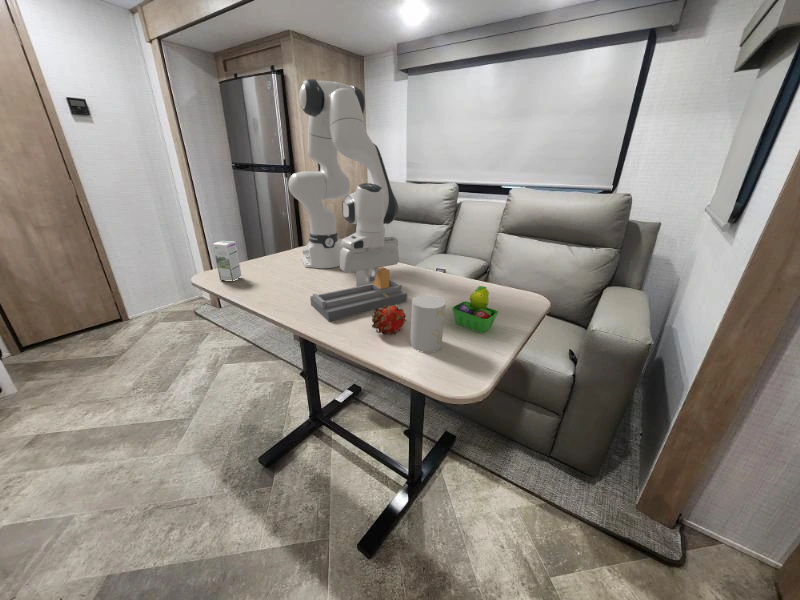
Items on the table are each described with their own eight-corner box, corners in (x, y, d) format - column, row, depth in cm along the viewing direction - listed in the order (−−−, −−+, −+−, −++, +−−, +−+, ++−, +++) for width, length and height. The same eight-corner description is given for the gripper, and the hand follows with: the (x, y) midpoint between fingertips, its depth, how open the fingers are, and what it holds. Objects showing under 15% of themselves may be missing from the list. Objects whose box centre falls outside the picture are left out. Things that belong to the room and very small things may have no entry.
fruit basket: (449, 323, 95) (452, 287, 91) (464, 314, 101) (468, 280, 97) (484, 336, 88) (490, 298, 84) (498, 326, 95) (504, 289, 90)
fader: (372, 288, 111) (372, 267, 108) (382, 286, 113) (382, 266, 110) (380, 292, 107) (380, 271, 104) (390, 290, 109) (390, 269, 106)
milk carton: (356, 287, 121) (354, 236, 113) (357, 280, 127) (356, 232, 120) (375, 287, 121) (375, 236, 113) (376, 281, 127) (375, 232, 120)
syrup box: (242, 277, 127) (236, 240, 121) (233, 282, 122) (226, 244, 116) (229, 276, 128) (222, 239, 122) (219, 281, 122) (211, 243, 117)
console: (310, 305, 104) (308, 290, 102) (384, 288, 120) (385, 276, 118) (327, 321, 94) (326, 306, 92) (407, 301, 109) (407, 287, 107)
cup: (438, 354, 79) (442, 310, 75) (406, 349, 81) (408, 305, 77) (443, 339, 87) (447, 297, 82) (414, 334, 89) (416, 293, 84)
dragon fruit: (369, 343, 86) (399, 334, 95) (390, 335, 81) (420, 326, 89) (359, 313, 88) (390, 307, 96) (379, 303, 82) (410, 297, 91)
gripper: (392, 234, 109) (391, 273, 114) (336, 240, 98) (338, 283, 103) (403, 237, 104) (402, 278, 110) (345, 244, 93) (347, 289, 99)
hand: (370, 280), depth 106 cm, fingers closed
